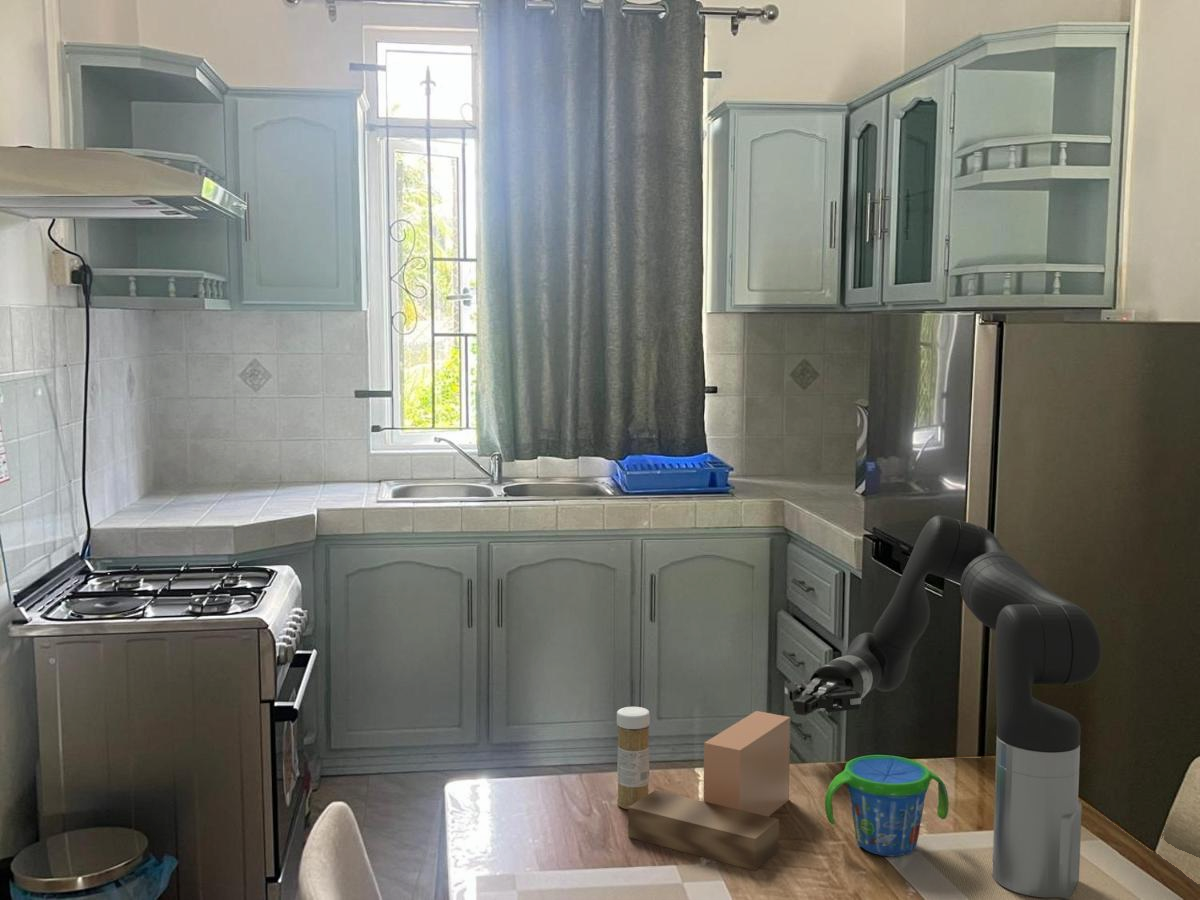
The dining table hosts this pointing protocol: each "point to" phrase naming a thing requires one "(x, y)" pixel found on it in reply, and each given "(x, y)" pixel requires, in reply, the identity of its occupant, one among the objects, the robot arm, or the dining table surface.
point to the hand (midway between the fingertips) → (800, 708)
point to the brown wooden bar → (704, 829)
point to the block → (749, 764)
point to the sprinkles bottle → (632, 755)
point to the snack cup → (886, 801)
